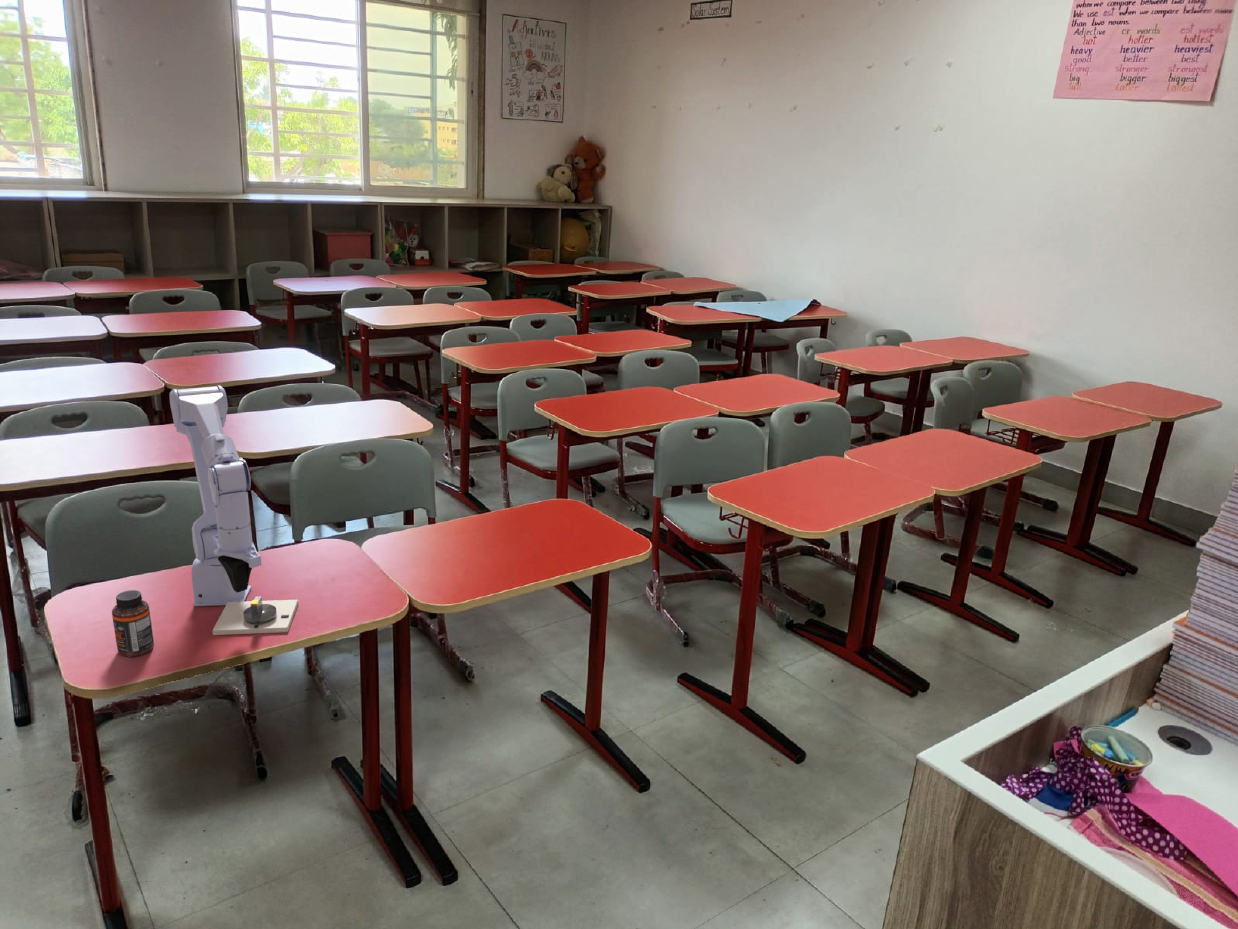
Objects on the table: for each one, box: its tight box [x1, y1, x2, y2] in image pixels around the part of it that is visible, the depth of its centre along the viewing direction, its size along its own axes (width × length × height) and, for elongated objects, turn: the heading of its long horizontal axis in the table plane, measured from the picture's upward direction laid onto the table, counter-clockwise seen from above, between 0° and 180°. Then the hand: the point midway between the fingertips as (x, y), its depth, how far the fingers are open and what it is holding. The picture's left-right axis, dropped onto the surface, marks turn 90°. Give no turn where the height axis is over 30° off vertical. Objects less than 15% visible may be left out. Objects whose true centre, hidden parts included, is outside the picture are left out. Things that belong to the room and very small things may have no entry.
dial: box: [243, 596, 277, 624], centre depth 169 cm, size 7×6×5 cm
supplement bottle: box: [111, 589, 155, 658], centre depth 157 cm, size 6×6×11 cm
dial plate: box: [212, 599, 299, 636], centre depth 172 cm, size 14×12×1 cm
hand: (240, 590), depth 166 cm, fingers closed
